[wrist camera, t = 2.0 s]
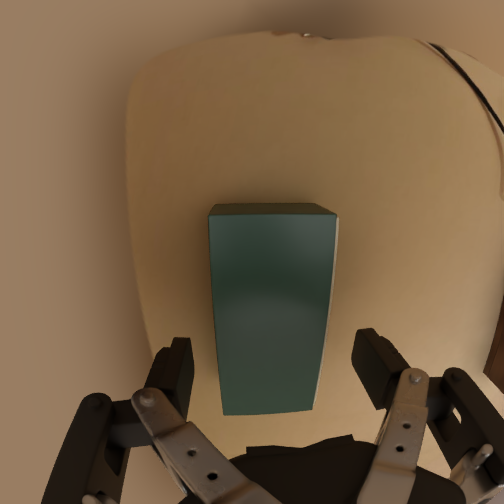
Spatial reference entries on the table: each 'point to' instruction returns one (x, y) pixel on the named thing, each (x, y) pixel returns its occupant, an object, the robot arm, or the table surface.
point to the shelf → (497, 355)
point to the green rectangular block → (271, 302)
